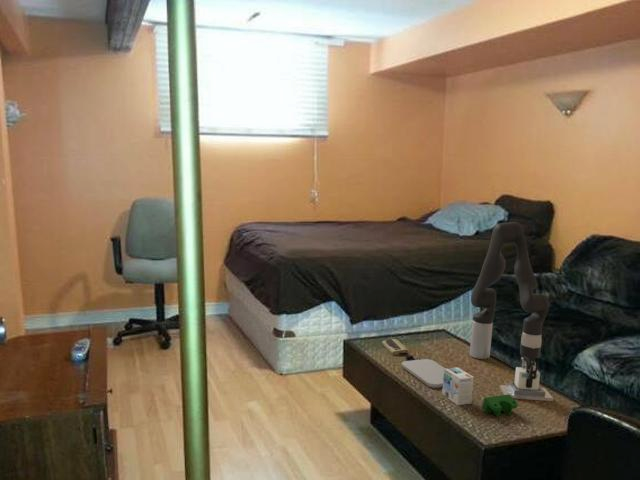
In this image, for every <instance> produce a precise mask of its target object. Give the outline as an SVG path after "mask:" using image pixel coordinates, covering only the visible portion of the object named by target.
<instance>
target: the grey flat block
mask: <svg viewBox="0 0 640 480" xmlns="http://www.w3.org/2000/svg"><path fill="white" fill-rule="evenodd" d="M514 382H515V381H512V380H511V381H510V380H509V381H508V384H507V385H506V384H505V385H504V384H499V389H500V391H501V392H502V393H503V395H508V394H510V395H511V396H512V397H513V398H514V400H517V399H518V400H519V399H520V400H534V401H543V402H544V401H545V402H546V401H547V402H553V401H554V397H553V396H552V395H551V393H549V392H548V390H547V389H546V388H545V387H542V386H541V385H540V384H539V389H538V390H531V389H518V388H517V387H516V385H515V384H514Z"/></svg>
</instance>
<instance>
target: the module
mask: <svg viewBox="0 0 640 480" xmlns="http://www.w3.org/2000/svg"><path fill="white" fill-rule="evenodd" d="M528 371H529V370H528ZM531 376H532V374H531ZM540 378H541V372H540V370H538V369H537V373H536V378H535V379H533V382H532V388H527V387H526V379H527V373H526V372H525V368H521V366H518V367H517V366H516V367H515V375H514V381H513V382H514V384H515V385H516V387H517V388H518V389H531V390H538V389H539V385H540Z"/></svg>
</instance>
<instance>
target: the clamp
mask: <svg viewBox="0 0 640 480" xmlns="http://www.w3.org/2000/svg"><path fill="white" fill-rule="evenodd" d="M518 405H519V403H518V402H517V401H516V399H514V398H513V397H512V396H511V395H510V394H508V395H504V394H503V395H501V394H500V395H495V396H489V397H488V396H487V397H484V400H483V403H482V407H481V409H482V411H483V412H484V413H485V414H489V413H493V414H494V415H495V416H496V417H497V418H500V416H501V412H504V413H506V414H507V415H508V416H511V414H512V412H513V410H514V409H517V408H518Z"/></svg>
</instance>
